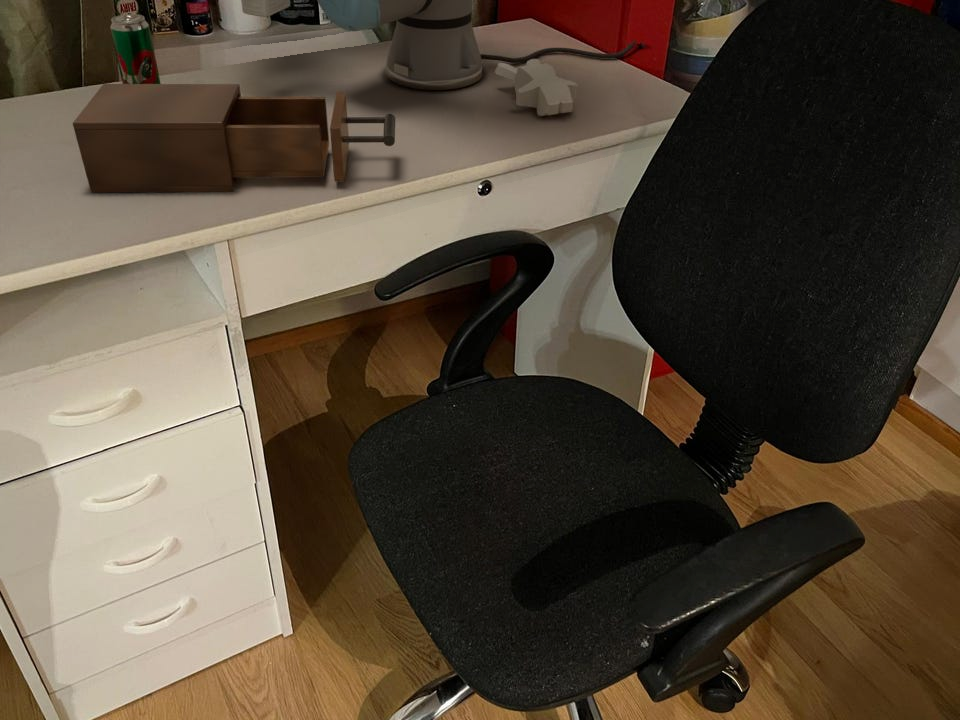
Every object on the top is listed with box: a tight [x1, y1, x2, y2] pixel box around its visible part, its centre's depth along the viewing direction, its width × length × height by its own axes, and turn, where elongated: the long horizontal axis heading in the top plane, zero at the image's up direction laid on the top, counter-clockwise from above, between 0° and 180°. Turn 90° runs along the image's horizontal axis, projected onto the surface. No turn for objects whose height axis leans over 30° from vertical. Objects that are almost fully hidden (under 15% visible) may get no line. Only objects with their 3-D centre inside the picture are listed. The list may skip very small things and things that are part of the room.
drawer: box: [224, 92, 396, 183], centre depth 106 cm, size 22×11×7 cm, turn 94°
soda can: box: [109, 13, 162, 84], centre depth 121 cm, size 5×5×12 cm
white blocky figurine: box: [494, 58, 578, 117], centre depth 128 cm, size 10×5×15 cm
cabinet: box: [72, 83, 242, 193], centre depth 105 cm, size 17×13×9 cm
